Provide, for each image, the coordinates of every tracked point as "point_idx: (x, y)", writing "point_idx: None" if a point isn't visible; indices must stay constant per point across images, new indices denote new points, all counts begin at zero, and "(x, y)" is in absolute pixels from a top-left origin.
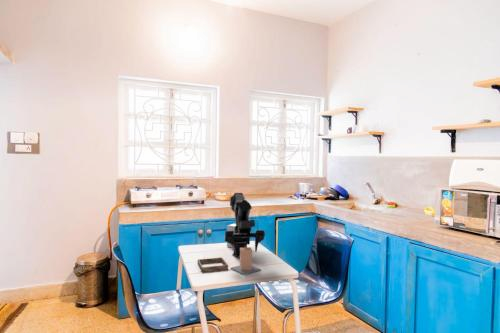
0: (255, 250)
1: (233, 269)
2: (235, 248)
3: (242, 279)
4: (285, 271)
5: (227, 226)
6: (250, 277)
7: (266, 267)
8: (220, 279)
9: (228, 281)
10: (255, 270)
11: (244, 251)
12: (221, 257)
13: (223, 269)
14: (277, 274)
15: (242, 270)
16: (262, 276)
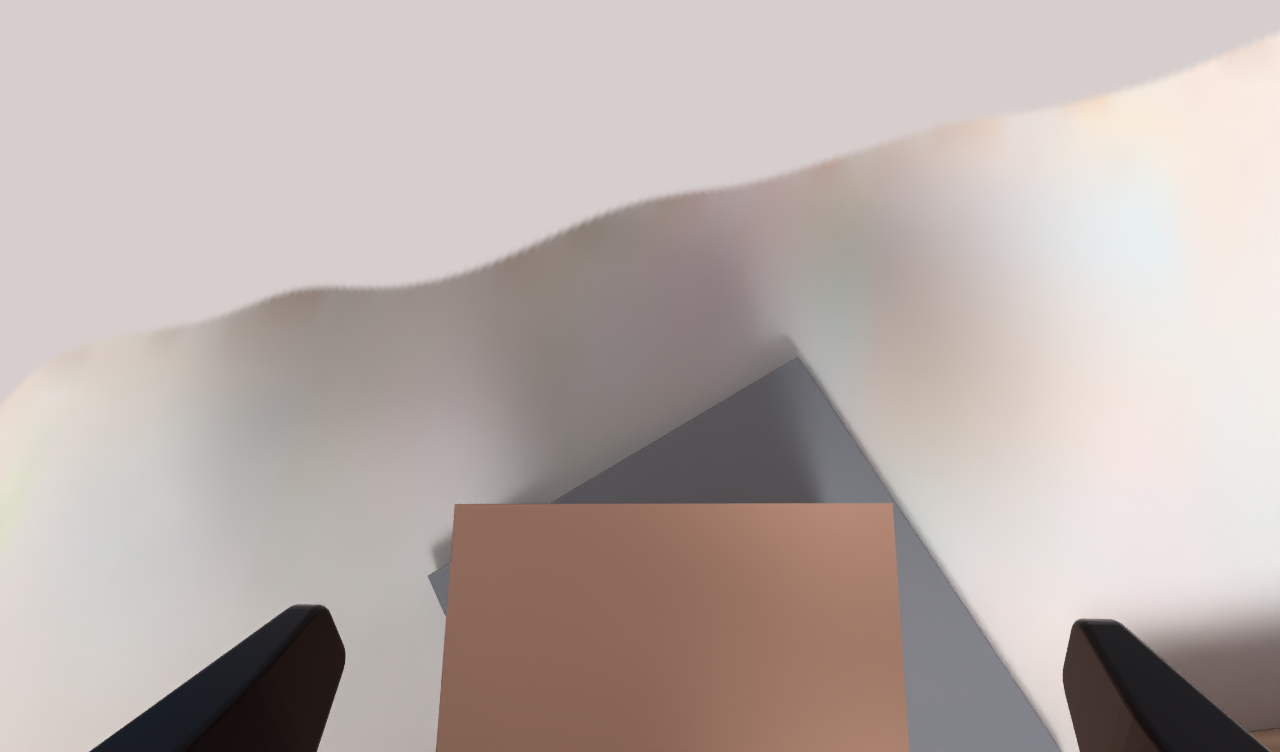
0: (319, 680)
1: (1003, 666)
2: (1189, 709)
3: (833, 181)
4: (69, 477)
5: None
6: (687, 258)
7: None
8: (1249, 195)
9: (1083, 108)
10: None
11: (750, 509)
12: None
13: (1254, 735)
14: (235, 356)
15: None
16: (485, 288)
